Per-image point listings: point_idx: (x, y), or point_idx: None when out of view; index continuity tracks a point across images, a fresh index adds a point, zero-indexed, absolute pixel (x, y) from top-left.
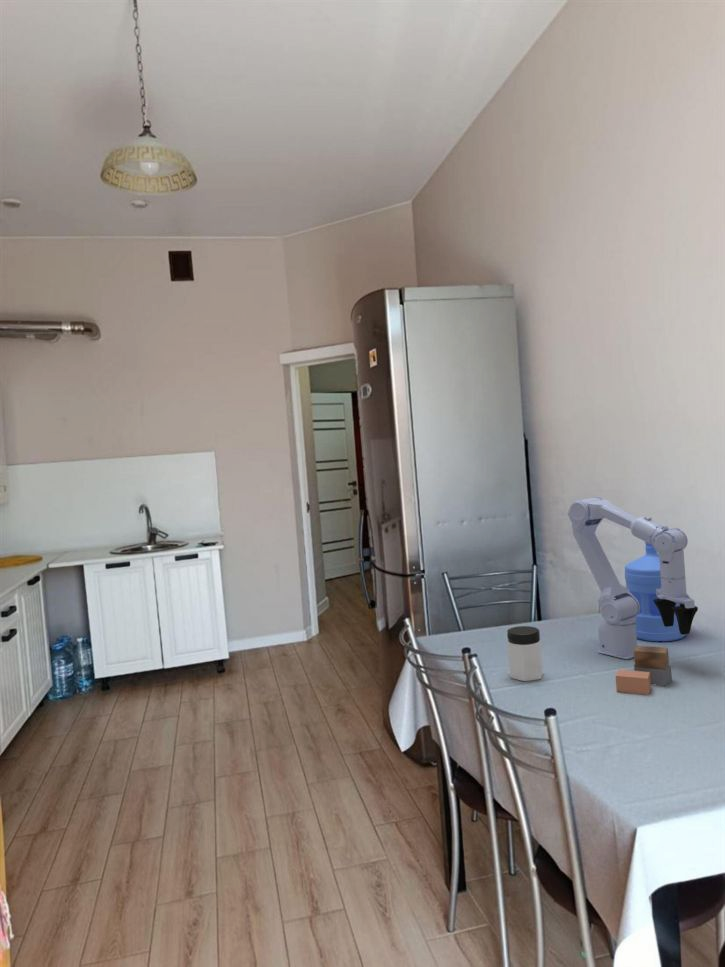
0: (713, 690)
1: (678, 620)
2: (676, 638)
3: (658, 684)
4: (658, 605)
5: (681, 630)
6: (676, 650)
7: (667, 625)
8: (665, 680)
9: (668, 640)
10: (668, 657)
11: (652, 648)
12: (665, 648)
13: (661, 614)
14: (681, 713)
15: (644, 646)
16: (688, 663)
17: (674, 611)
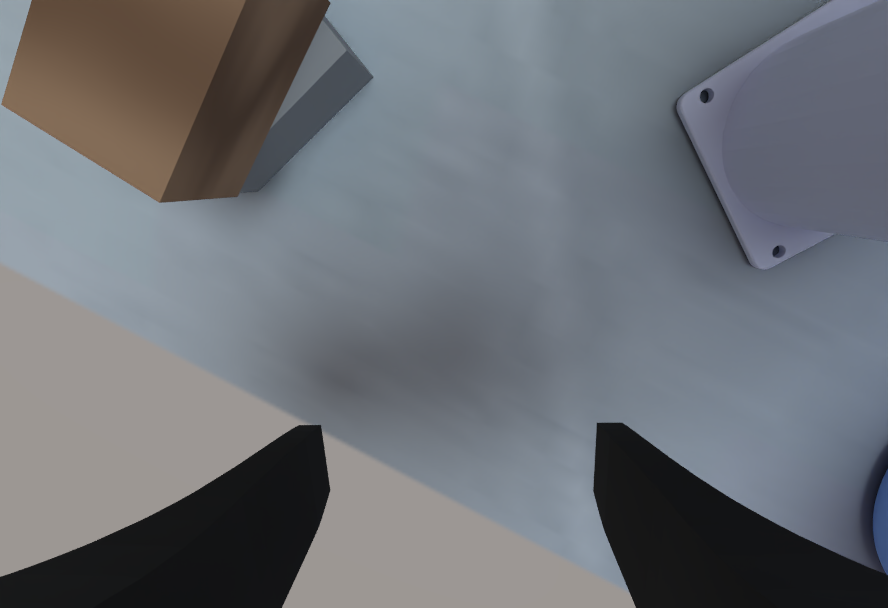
0: (114, 310)
1: (204, 503)
2: (874, 531)
3: None
4: (775, 590)
5: (272, 445)
6: (712, 443)
7: (598, 447)
8: None
9: (880, 485)
10: (207, 196)
11: (155, 55)
12: (140, 172)
13: (677, 490)
14: None
15: (230, 3)
16: (493, 394)
17: (99, 589)
